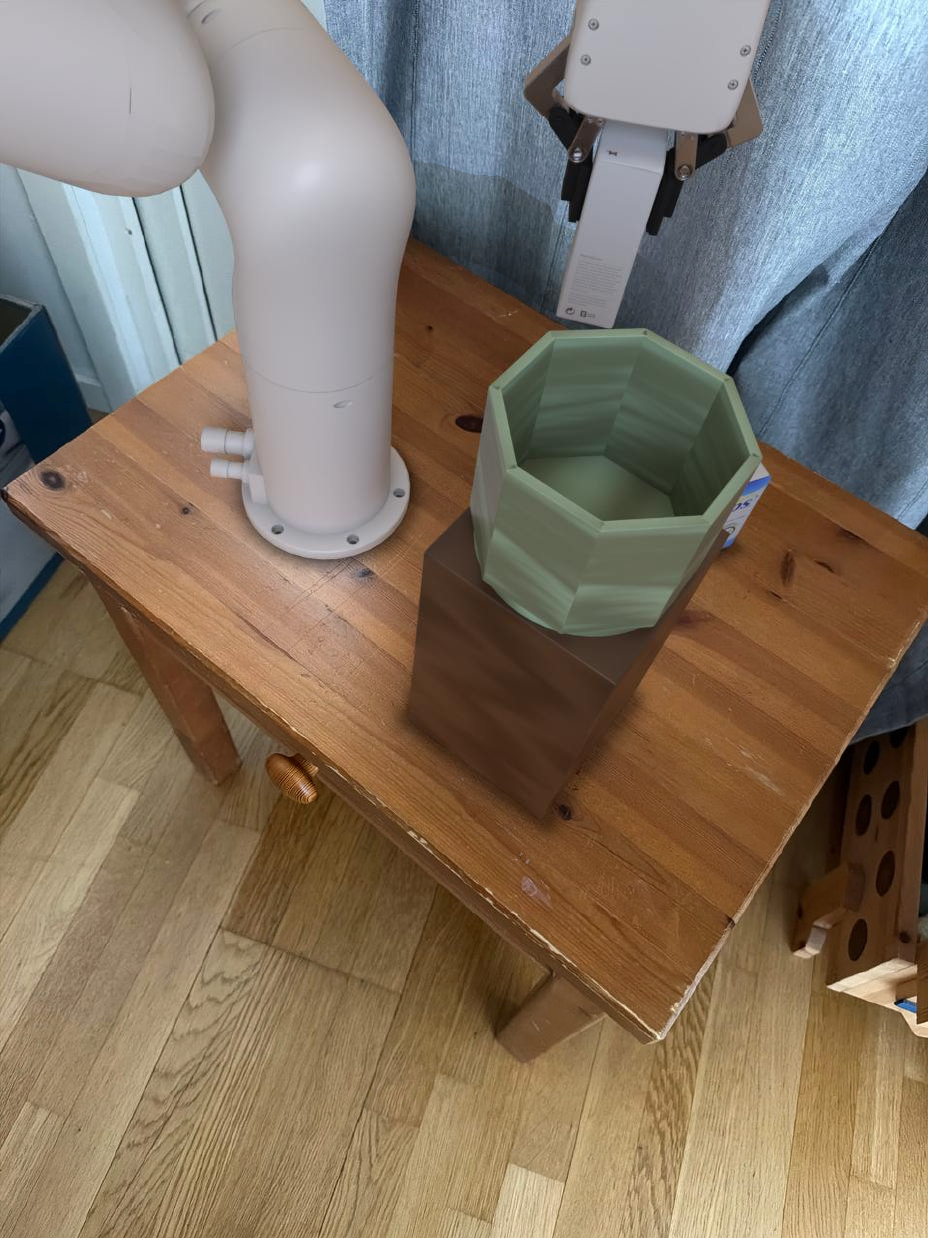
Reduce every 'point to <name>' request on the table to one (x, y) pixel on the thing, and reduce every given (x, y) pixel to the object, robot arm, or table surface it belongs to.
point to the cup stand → (574, 550)
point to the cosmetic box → (612, 221)
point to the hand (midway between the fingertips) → (613, 213)
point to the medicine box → (746, 503)
